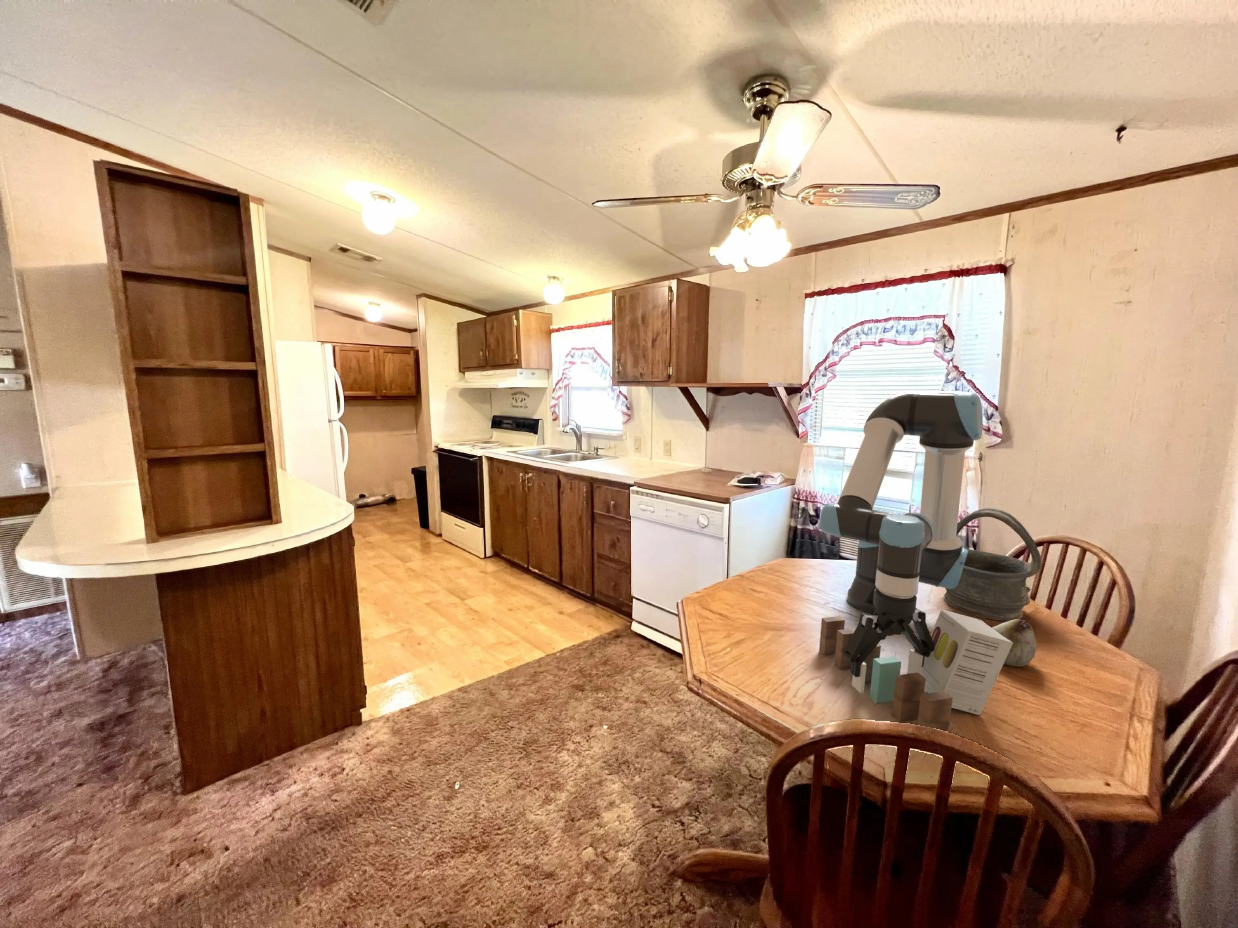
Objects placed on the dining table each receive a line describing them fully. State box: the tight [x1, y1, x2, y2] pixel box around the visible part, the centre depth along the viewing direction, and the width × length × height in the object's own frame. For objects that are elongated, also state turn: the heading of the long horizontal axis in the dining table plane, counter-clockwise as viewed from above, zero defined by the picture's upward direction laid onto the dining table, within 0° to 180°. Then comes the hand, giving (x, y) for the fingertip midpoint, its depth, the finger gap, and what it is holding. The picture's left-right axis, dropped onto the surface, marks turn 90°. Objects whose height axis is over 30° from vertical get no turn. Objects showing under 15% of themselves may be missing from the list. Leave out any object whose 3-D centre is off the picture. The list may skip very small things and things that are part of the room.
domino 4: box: [891, 672, 926, 723], centre depth 95 cm, size 5×2×9 cm, turn 102°
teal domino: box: [869, 655, 902, 704], centre depth 101 cm, size 5×2×9 cm, turn 102°
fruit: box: [991, 618, 1038, 668], centre depth 114 cm, size 10×9×12 cm
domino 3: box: [851, 643, 882, 686], centre depth 106 cm, size 5×2×9 cm, turn 102°
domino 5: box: [916, 691, 953, 732], centre depth 89 cm, size 5×2×9 cm, turn 102°
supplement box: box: [921, 609, 1013, 716], centre depth 99 cm, size 10×9×17 cm
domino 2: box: [834, 627, 856, 671], centre depth 112 cm, size 5×2×9 cm, turn 102°
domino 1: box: [818, 615, 846, 657], centre depth 118 cm, size 5×2×9 cm, turn 102°
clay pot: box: [943, 507, 1043, 622], centre depth 142 cm, size 22×23×30 cm
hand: (885, 684), depth 101 cm, fingers open, 13 cm apart
